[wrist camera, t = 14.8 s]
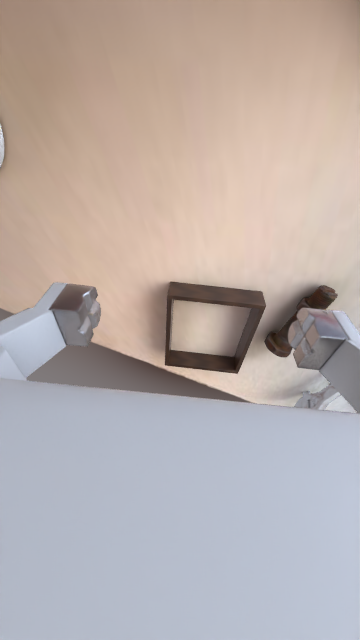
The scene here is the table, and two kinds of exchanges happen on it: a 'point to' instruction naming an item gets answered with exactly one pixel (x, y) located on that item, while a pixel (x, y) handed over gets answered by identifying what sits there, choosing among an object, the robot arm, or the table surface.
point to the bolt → (316, 301)
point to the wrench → (318, 398)
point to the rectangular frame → (214, 297)
